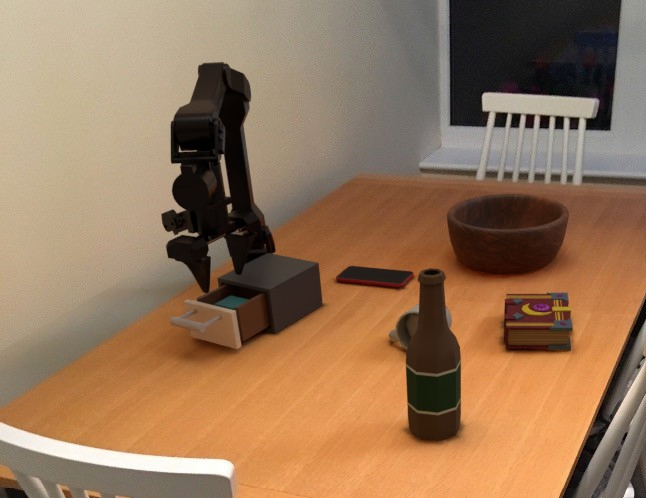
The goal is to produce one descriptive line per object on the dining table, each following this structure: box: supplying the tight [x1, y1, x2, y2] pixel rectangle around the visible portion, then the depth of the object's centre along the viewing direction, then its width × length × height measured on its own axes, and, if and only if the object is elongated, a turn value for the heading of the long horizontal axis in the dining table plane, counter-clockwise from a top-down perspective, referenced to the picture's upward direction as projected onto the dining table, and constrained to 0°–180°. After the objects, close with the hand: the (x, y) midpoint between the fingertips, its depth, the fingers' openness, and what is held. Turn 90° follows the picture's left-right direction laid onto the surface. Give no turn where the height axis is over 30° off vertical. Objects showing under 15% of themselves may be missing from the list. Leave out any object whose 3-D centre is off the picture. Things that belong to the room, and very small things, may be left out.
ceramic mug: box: [388, 303, 453, 351], centre depth 144 cm, size 11×8×8 cm
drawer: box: [169, 284, 271, 350], centre depth 150 cm, size 19×11×7 cm, turn 146°
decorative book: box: [503, 291, 574, 351], centre depth 147 cm, size 11×16×5 cm
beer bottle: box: [405, 267, 462, 442], centre depth 116 cm, size 8×8×24 cm
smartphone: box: [335, 265, 415, 288], centre depth 172 cm, size 7×1×15 cm
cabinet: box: [216, 253, 324, 334], centre depth 158 cm, size 15×13×9 cm
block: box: [215, 295, 249, 310], centre depth 151 cm, size 4×4×4 cm
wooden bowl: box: [446, 193, 570, 276], centre depth 175 cm, size 25×25×10 cm
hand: (222, 283), depth 147 cm, fingers open, 9 cm apart
